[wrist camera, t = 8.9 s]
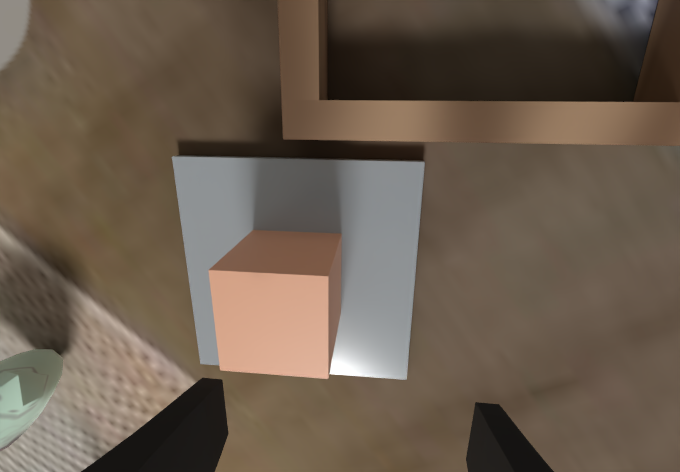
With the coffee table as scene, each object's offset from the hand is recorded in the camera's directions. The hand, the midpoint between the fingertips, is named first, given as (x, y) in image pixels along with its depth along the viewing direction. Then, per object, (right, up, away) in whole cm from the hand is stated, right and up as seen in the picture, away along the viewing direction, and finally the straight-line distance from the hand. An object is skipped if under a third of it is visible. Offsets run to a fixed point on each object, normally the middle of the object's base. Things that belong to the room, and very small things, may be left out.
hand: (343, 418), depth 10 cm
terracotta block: (-2, +3, +8) cm, 9 cm away
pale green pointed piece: (-18, -3, +13) cm, 22 cm away
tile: (-2, +3, +9) cm, 10 cm away
